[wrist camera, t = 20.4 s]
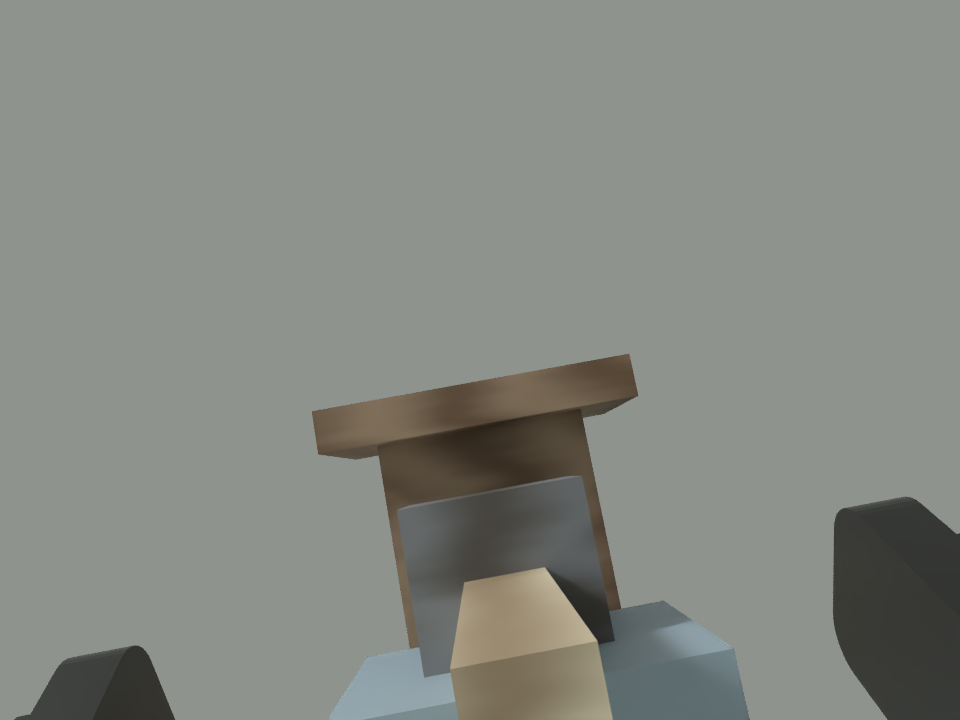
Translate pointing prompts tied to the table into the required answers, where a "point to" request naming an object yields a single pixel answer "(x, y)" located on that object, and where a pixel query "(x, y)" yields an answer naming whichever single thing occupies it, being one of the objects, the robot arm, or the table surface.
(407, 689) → the slate pedestal
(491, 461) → the walnut stand
